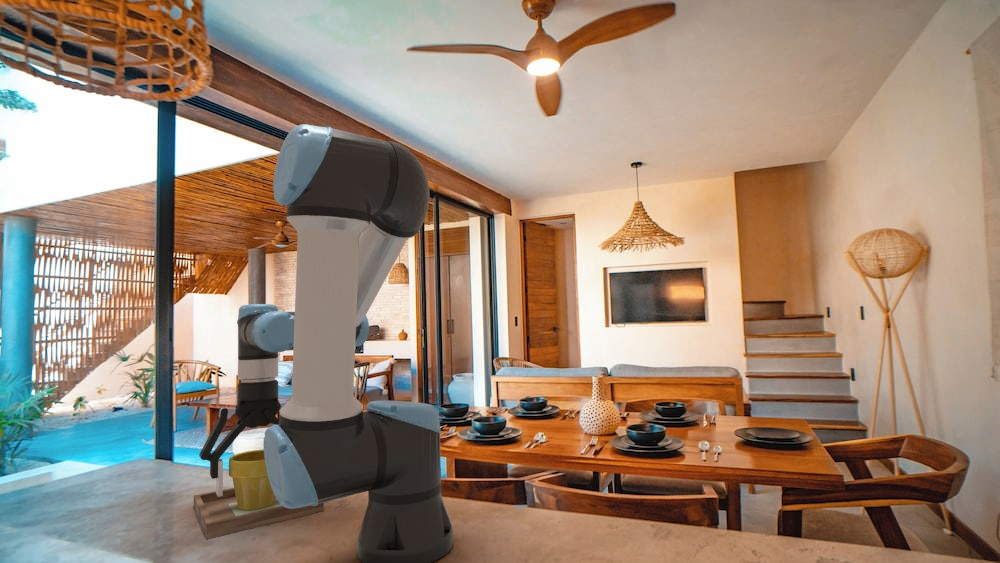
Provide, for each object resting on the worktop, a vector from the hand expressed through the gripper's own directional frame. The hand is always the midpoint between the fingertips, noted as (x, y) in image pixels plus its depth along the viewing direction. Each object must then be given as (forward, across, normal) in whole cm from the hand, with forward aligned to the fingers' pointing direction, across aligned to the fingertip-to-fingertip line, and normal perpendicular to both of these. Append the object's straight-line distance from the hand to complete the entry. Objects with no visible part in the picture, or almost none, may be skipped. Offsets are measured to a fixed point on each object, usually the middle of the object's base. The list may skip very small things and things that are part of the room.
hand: (257, 487), depth 102 cm
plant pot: (+4, 0, 0) cm, 4 cm away
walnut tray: (+4, 0, 0) cm, 4 cm away
